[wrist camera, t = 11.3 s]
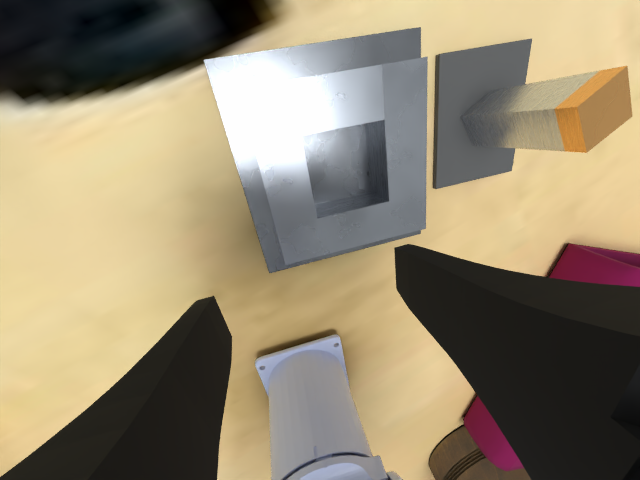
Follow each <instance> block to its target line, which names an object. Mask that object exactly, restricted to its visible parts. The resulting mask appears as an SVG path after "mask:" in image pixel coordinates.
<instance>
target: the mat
mask: <svg viewBox="0 0 640 480" xmlns="http://www.w3.org/2000/svg"><path fill="white" fill-rule="evenodd" d="M531 43H532V39H527V40H521V41H515V42H509V43H503V44H497V45H491V46H485V47H479V48H473V49H467V50H461V51H455V52H449V53H443V54H439V55H437V56H436V81H435V126H434V170H433V188H435V189H438V188H443V187H447V186H451V185H455V184H459V183H463V182H467V181H472V180H476V179H480V178H484V177H488V176H492V175H497V174H501V173H505V172H509V171H512V166H513V159H514V153H515V148H503V147H486V146H473V145H472V143H471V141H470V138H469V136H468V134H467V132H466V129H465V127H464V125H463V123H462V120H461V118H460V116H461V115H462V114H463V113H464V112H466V111H467V110H468V109H469V108H470V107H471V106H473V105H474V104H475V103H476V102H477V101H478V100H479V99H481V98H482V97H483V96H484V95H485V94H486V93H487V92H489V91H492V90H498V89H503V88H509V87H514V86H519V85H525V82H526V75H527V69H528V62H529V56H530V49H531Z"/></svg>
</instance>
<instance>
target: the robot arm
mask: <svg viewBox="0 0 640 480" xmlns="http://www.w3.org/2000/svg"><path fill="white" fill-rule="evenodd" d="M395 268H396V288H397V290H398V292H399V294H400V295H401V297H402V298H403V300H404V302H405V303H406V305H407V306H408V308H409V309H410V310H411V311H412V313H413V314H414V315H415V316H416V317H417V319H418V320H419V321H420V322H421V323H422V325H423V326H424V327H425V328H426V329H427V330H428V332H429V333H430V334H431V335H432V336H433V337H434V339H435V340H436V341H437V342H438V343H439V344H440V346H441V347H442V348H443V349H444V350H445V351H446V353H447V354H448V355H449V356H450V358H451V359H452V360H453V361H454V363H455V364H456V365H457V367H458V368H459V369H460V371H461V372H462V374H463V375H464V376H465V378H466V379H467V381H468V382H469V384H470V385H471V386H472V388H473V389H474V391H475V392H476V394H477V395H478V397H479V398H480V400H481V401H482V403H483V404H484V406H485V407H486V409H487V410H488V412H489V413H490V415H491V416H492V418H493V419H494V421H495V422H496V424H497V425H498V427H499V428H500V430H501V432H502V433H503V435H504V436H505V438H506V439H507V441H508V443H509V444H510V446H511V447H512V449H513V450H514V452H515V454H516V455H517V457H518V458H519V460H520V462H521V463H522V465H523V467H524V468H525V470H526V472H527V473H528V475H529V477H530V478H531V480H640V287H636V286H623V285H610V284H598V283H588V282H579V281H571V280H563V279H556V278H548V277H542V276H535V275H530V274H524V273H519V272H514V271H508V270H504V269H499V268H495V267H491V266H486V265H482V264H478V263H474V262H471V261H467V260H463V259H460V258H456V257H453V256H450V255H446V254H443V253H440V252H436V251H433V250H430V249H426V248H423V247H419V246H415V245H410V244H407V245H403V246H399V247H396V248H395ZM335 343H337V344H335ZM231 356H232V336H231V333H230V331H229V329H228V327H227V324H226V322H225V320H224V318H223V315H222V313H221V311H220V309H219V306H218V304H217V302H216V299H215V297H214V296H212V297H208V298H204V299H201V300H197V301H196V302H195V303H194V304H193V305H192V306H191V307H190V308H189V309H188V310H187V311H186V312H185V313H184V314H183V315H182V316H181V317H180V319H179V320H178V321H177V322H176V323H175V324H174V325H173V326H172V327H171V328H170V329H169V330H168V331H167V333H166V334H165V335H164V336H163V337H162V338H161V339H160V340H159V341H158V342H157V343H156V344H155V345H154V346H153V347H152V348H151V349H150V350H149V351H148V352H147V353H146V354H145V355H144V356H143V357H142V358H141V359H140V360H139V361H138V362H137V363H136V364H135V365H134V366H133V367H132V368H131V369H130V370H129V371H128V372H127V373H126V374H125V375H124V376H123V377H122V378H121V379H120V380H119V381H118V382H117V383H116V384H115V385H113V386H112V387H111V388H110V389H109V390H108V391H107V392H106V393H105V394H103V395H102V396H101V397H100V398H99V399H98V400H97V401H95V402H94V403H93V404H92V405H91V406H90V407H89V408H87V409H86V410H85V411H84V412H83V413H82V414H80V415H79V416H78V417H77V418H75V419H74V420H73V421H72V422H70V423H69V424H68V425H67V426H65V427H64V428H63V429H62V430H60V431H59V432H58V433H57V434H55V435H54V436H53V437H52V438H50V439H49V440H48V441H47V442H45V443H44V444H43V445H42V446H41V447H39V448H38V449H37V450H36V451H34V452H33V453H32V454H30V455H29V456H28V457H26V458H25V459H24V460H23V461H21V462H20V463H19V464H17V465H16V466H15V467H13V468H12V469H11V470H9V471H8V472H7V473H5V474H4V475H3V476H1V477H0V480H217V470H218V454H219V442H220V433H221V426H222V419H223V413H224V407H225V400H226V394H227V388H228V381H229V375H230V368H231ZM255 366H256V368H257V371H258V373H259V376H260V378H261V381H262V383H263V385H264V388H265V390H266V393H267V395H268V397H269V418H270V452H271V480H403V479H402V478H401V477H400V476H399V475H398V474H397V473H395V472H394V471H391V472H387V473H386V472H385V469H384V466H383V464H382V461H381V458H380V456H374V457H373V456H372V453H371V450H370V447H369V444H368V441H367V439H366V436H365V433H364V430H363V427H362V424H361V421H360V418H359V415H358V412H357V410H356V407H355V404H354V401H353V398H352V395H351V392H350V387H349V382H348V377H347V371H346V366H345V361H344V355H343V350H342V345H341V339H340V337H339V335H336V334H335V335H331V336H328V337H324V338H321V339H318V340H315V341H311V342H308V343H305V344H301V345H298V346H295V347H291V348H288V349H285V350H282V351H278V352H275V353H272V354H268V355H265V356H262V357H259V358H257V359H256V360H255ZM261 366H262V367H261Z"/></svg>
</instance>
